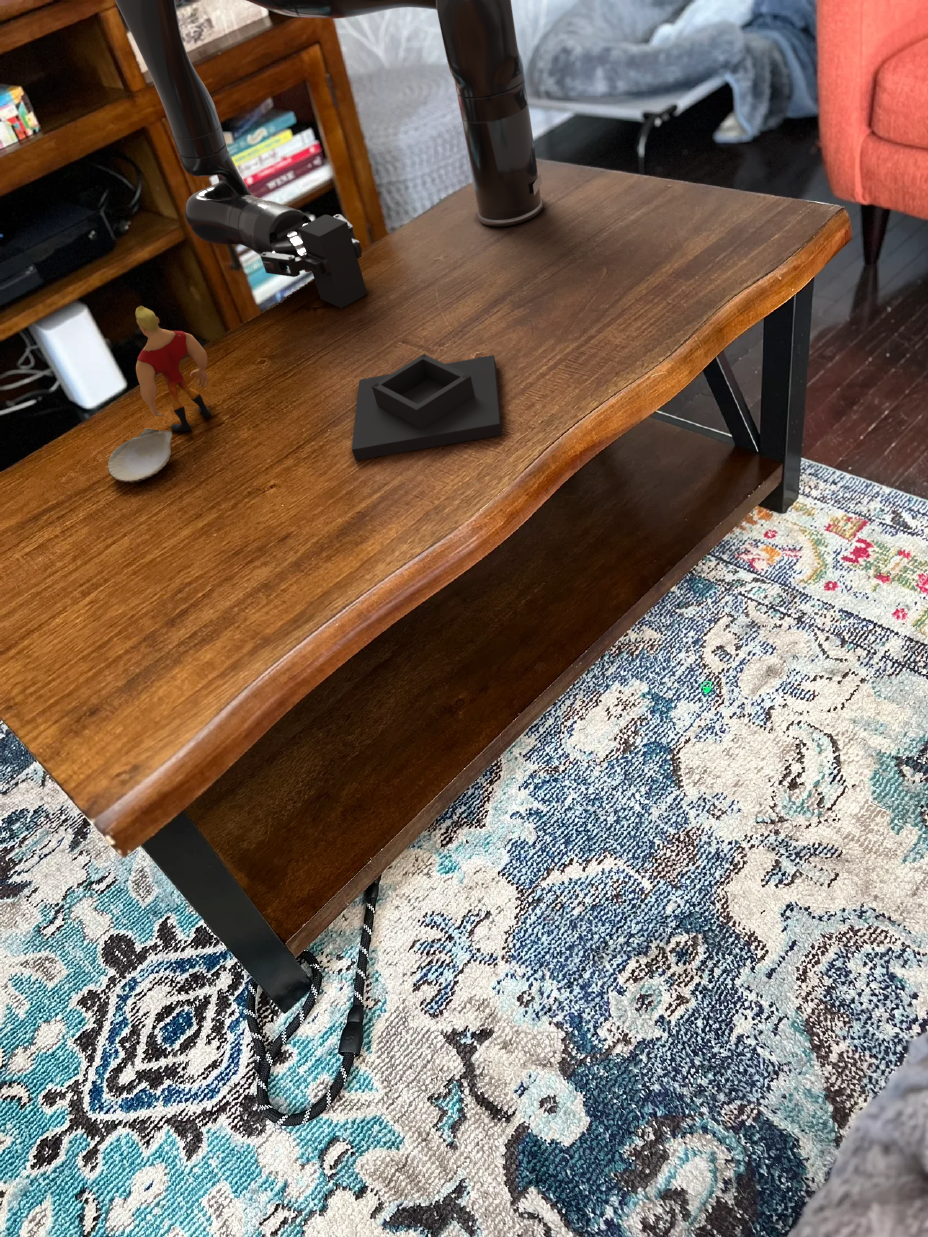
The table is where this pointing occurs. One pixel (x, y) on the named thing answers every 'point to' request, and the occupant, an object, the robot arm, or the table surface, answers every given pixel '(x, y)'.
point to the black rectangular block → (334, 260)
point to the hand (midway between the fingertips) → (342, 258)
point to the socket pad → (440, 432)
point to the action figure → (169, 365)
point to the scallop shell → (141, 456)
